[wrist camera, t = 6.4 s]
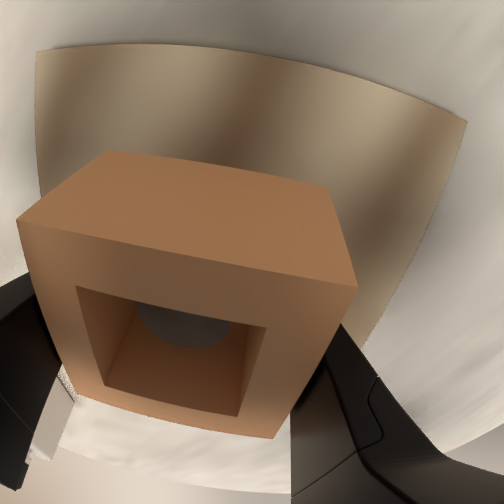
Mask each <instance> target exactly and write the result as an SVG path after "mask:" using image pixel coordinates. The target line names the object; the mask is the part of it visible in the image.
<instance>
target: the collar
mask: <svg viewBox="0 0 504 504" xmlns="http://www.w3.org/2000/svg"><path fill="white" fill-rule="evenodd" d="M16 222H17V227H18V231H19V236H20V240H21V244H22V248H23V252H24V256H25V260H26V263H27V267H28V270H29V274H30V277H31V281H32V284H33V287H34V290H35V293H36V296H37V299H38V302H39V305H40V308H41V311H42V314H43V317H44V319H45V322H46V325H47V327H48V330H49V332H50V335H51V337H52V340H53V342H54V345H55V347H56V350H57V352H58V354H59V357H60V359H61V361H62V363H63V366H64V368H65V370H66V372H67V374H68V376H69V378H70V381H71V383H72V385H73V387H74V389H75V391H76V393H77V394H80V395H82V396H85V397H88V398H91V399H94V400H96V401H99V402H102V403H105V404H108V405H112V406H115V407H118V408H121V409H125V410H128V411H131V412H135V413H138V414H142V415H146V416H149V417H153V418H157V419H161V420H165V421H169V422H174V423H178V424H182V425H187V426H192V427H197V428H202V429H207V430H212V431H218V432H224V433H230V434H237V435H244V436H251V437H259V438H268V439H273V438H274V436H275V435H276V433H277V432H278V430H279V429H280V427H281V425H282V424H283V422H284V421H285V419H286V418H287V416H288V414H289V413H290V411H291V410H292V408H293V406H294V405H295V403H296V402H297V400H298V398H299V397H300V395H301V393H302V392H303V390H304V388H305V387H306V385H307V383H308V381H309V380H310V378H311V376H312V375H313V373H314V371H315V369H316V368H317V366H318V364H319V362H320V360H321V359H322V357H323V355H324V353H325V351H326V350H327V348H328V346H329V344H330V342H331V340H332V338H333V337H334V335H335V333H336V331H337V329H338V327H339V325H340V323H341V321H342V319H343V317H344V315H345V313H346V311H347V309H348V307H349V305H350V303H351V301H352V299H353V297H354V295H355V293H356V291H357V289H358V284H357V280H356V277H355V273H354V270H353V266H352V263H351V259H350V256H349V253H348V249H347V246H346V243H345V240H344V236H343V233H342V230H341V227H340V224H339V221H338V217H337V214H336V211H335V208H334V205H333V202H332V199H331V196H330V194H329V191H328V188H327V187H324V186H320V185H315V184H311V183H306V182H302V181H297V180H293V179H288V178H283V177H279V176H274V175H269V174H264V173H259V172H254V171H248V170H243V169H238V168H232V167H226V166H221V165H215V164H209V163H203V162H196V161H190V160H183V159H177V158H170V157H163V156H155V155H148V154H140V153H131V152H123V151H114V150H108V151H106V152H105V153H103V154H102V155H100V156H99V157H97V158H96V159H94V160H93V161H91V162H90V163H88V164H87V165H86V166H84V167H83V168H81V169H80V170H79V171H77V172H76V173H74V174H73V175H72V176H70V177H69V178H67V179H66V180H65V181H63V182H62V183H61V184H59V185H58V186H57V187H55V188H54V189H53V190H52V191H50V192H49V193H48V194H46V195H45V196H44V197H43V198H41V199H40V200H39V201H38V202H36V203H35V204H34V205H33V206H32V207H30V208H29V209H28V210H27V211H26V212H24V213H23V214H22V215H21V216H20V217H19V218H17V219H16ZM136 301H138V302H142V303H147V304H151V305H155V306H160V307H164V308H169V309H173V310H178V311H182V312H187V313H192V314H197V315H202V316H207V317H212V318H217V319H222V320H227V321H231V326H230V330H229V332H228V334H227V335H226V336H225V337H224V338H223V339H222V340H221V341H219V342H218V343H216V344H214V345H211V346H207V347H201V348H190V347H183V346H178V345H175V344H172V343H169V342H167V341H165V340H163V339H161V338H159V337H158V336H156V335H155V334H154V333H152V332H151V331H150V330H149V329H148V328H147V327H146V326H145V325H144V324H143V322H142V321H141V319H140V317H139V315H138V312H137V309H136Z"/></svg>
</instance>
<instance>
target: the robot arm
mask: <svg viewBox="0 0 504 504" xmlns="http://www.w3.org/2000/svg"><path fill="white" fill-rule="evenodd" d="M61 365H62V361H61V359H60V357H59V354H58V352H57V350H56V347H55V345H54V342H53V340H52V337H51V335H50V332H49V330H48V327H47V325H46V322H45V319H44V317H43V314H42V311H41V308H40V305H39V302H38V299H37V296H36V293H35V290H34V287H33V284H32V281H31V277H30V274H29V272H28V273H26V274H24V275H22V276H20V277H18V278H16V279H14V280H12V281H10V282H9V283H7V284H5V285H3V286H1V287H0V483H2V484H4V485H5V486H7V487H9V488H11V489H13V490H14V491H16V490H17V487H18V484H19V480H20V477H21V473H22V470H23V467H24V464H25V460H26V457H27V454H28V451H29V448H30V445H31V442H32V439H33V436H34V433H35V430H36V427H37V425H38V422H39V419H40V416H41V414H42V411H43V409H44V406H45V404H46V401H47V398H48V396H49V394H50V391H51V389H52V386H53V384H54V382H55V379H56V377H57V374H58V372H59V370H60V368H61ZM377 376H378V374H377V373H376V371H375V370H374V369H373V367H372V366H371V364H370V363H369V362H368V360H367V359H366V357H365V356H364V354H363V353H362V352H361V350H360V349H359V347H358V346H357V345H356V343H355V342H354V340H353V339H352V338H351V336H350V335H349V334H348V332H347V331H346V329H345V328H344V327H343V325H342V324H341V323H340V325H339V327H338V329H337V331H336V333H335V335H334V337H333V338H332V340H331V342H330V344H329V346H328V348H327V350H326V351H325V353H324V355H323V357H322V359H321V360H320V362H319V364H318V366H317V368H316V369H315V371H314V373H313V375H312V376H311V378H310V380H309V381H308V383H307V385H306V387H305V388H304V390H303V392H302V393H301V395H300V397H299V398H298V400H297V402H296V403H295V405H294V406H293V408H292V410H291V411H290V432H291V497H292V498H291V504H504V475H500V474H497V473H493V472H490V471H486V470H483V469H480V468H477V467H474V466H471V465H468V464H465V463H462V462H459V461H456V460H453V459H451V458H449V457H447V456H446V455H444V454H443V453H442V452H440V451H439V450H438V449H437V448H436V447H435V446H434V445H433V444H432V442H431V441H430V440H429V439H428V438H427V436H426V435H425V434H424V433H423V432H422V431H421V429H420V428H419V427H418V426H417V425H416V424H415V422H414V421H413V420H412V419H411V418H410V416H409V415H408V414H407V413H406V412H405V410H404V409H403V408H402V407H401V405H400V404H399V403H398V402H397V401H396V399H395V398H394V396H393V395H392V394H391V392H390V391H389V390H388V388H387V387H386V386H385V384H384V383H383V381H382V380H381V378H380V377H377Z"/></svg>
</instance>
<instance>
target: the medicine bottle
mask: <svg viewBox="0 0 504 504" xmlns="http://www.w3.org/2000/svg"><path fill="white" fill-rule="evenodd" d="M73 406H74V402H73V400H72V399H71V397H70V396H69V394H68V393H67V391H66V390H65V388H64V387H63V385H62V384H61V382H60V381H59V379H58V377H56V379H55V382H54V384H53V386H52V389H51V391H50V394H49V396H48V398H47V401H46V404H45V406H44V409H43V411H42V414H41V416H40V419H39V422H38V425H37V427H36V430H35V433H34V436H33V439H32V442H31V445H30V448H29V451H28V454H27V457H26V460H25V464H24V467H23V470H22V473H21V477H20V480H19V484H18V487H17V489H20V488H21V486H22V484H23V481H24V478H25V475H26V472H27V470H28V467H29V464H30V462H31V458H30V457H29V454H30V452H31V453H33V454H35V455H37V456H39V457H41V458H44V459H46V460H49V461H50V460H52V459H53V456H54V454H55V451H56V448H57V446H58V443H59V441H60V438H61V435H62V433H63V430H64V428H65V425H66V423H67V420H68V418H69V416H70V413H71V411H72V408H73ZM0 484H2V483H0ZM2 485H4V484H2ZM4 486H5V485H4ZM6 487H7V486H6ZM8 488H9V487H8Z"/></svg>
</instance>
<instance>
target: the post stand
mask: <svg viewBox="0 0 504 504" xmlns="http://www.w3.org/2000/svg"><path fill="white" fill-rule="evenodd" d="M466 125H467V121H466V120H464V119H462V118H460V117H458V116H455V115H453V114H451V113H449V112H447V111H445V110H443V109H440V108H438V107H436V106H434V105H431V104H429V103H427V102H424V101H422V100H419V99H417V98H414V97H412V96H409V95H407V94H404V93H402V92H399V91H396V90H394V89H391V88H388V87H385V86H382V85H379V84H376V83H374V82H371V81H367V80H364V79H361V78H358V77H355V76H351V75H348V74H345V73H341V72H338V71H334V70H330V69H326V68H323V67H319V66H315V65H310V64H306V63H302V62H297V61H293V60H288V59H283V58H278V57H273V56H267V55H262V54H256V53H249V52H243V51H236V50H228V49H219V48H210V47H199V46H186V45H168V44H108V45H90V46H78V47H68V48H59V49H51V50H44V51H37V55H36V71H35V137H36V153H37V165H38V176H39V184H40V193H41V198H43V197H44V196H45V195H46V194H48V193H49V192H50V191H52V190H53V189H54V188H55V187H57V186H58V185H59V184H61V183H62V182H63V181H65V180H66V179H67V178H69V177H70V176H72V175H73V174H74V173H76V172H77V171H79V170H80V169H81V168H83V167H84V166H86V165H87V164H88V163H90V162H91V161H93V160H94V159H96V158H97V157H99V156H100V155H102V154H103V153H105V152H106V151H108V150H114V151H123V152H131V153H140V154H148V155H155V156H163V157H170V158H177V159H183V160H190V161H196V162H203V163H209V164H215V165H221V166H226V167H232V168H238V169H243V170H248V171H254V172H259V173H264V174H269V175H274V176H279V177H283V178H288V179H293V180H297V181H302V182H306V183H311V184H315V185H320V186H324V187H327V188H328V191H329V194H330V196H331V199H332V202H333V205H334V208H335V211H336V214H337V217H338V221H339V224H340V227H341V230H342V233H343V236H344V240H345V243H346V246H347V249H348V253H349V256H350V259H351V263H352V266H353V270H354V273H355V277H356V280H357V284H358V289H357V291H356V293H355V295H354V297H353V299H352V301H351V303H350V305H349V307H348V309H347V311H346V313H345V315H344V317H343V319H342V321H341V324H342V325H343V327H344V328H345V329H346V331H347V332H348V334H349V335H350V336H351V338H352V339H353V340H354V342H355V343H356V345H357V346H358V347H359V349H361V348H362V346H363V345H364V343H365V341H366V340H367V338H368V337H369V335H370V333H371V332H372V330H373V328H374V327H375V325H376V323H377V322H378V320H379V318H380V317H381V315H382V313H383V312H384V310H385V308H386V306H387V305H388V303H389V301H390V299H391V297H392V296H393V294H394V292H395V290H396V288H397V287H398V285H399V283H400V281H401V279H402V277H403V275H404V273H405V271H406V269H407V268H408V266H409V264H410V262H411V260H412V258H413V256H414V254H415V252H416V250H417V248H418V245H419V243H420V241H421V239H422V237H423V235H424V233H425V231H426V228H427V226H428V224H429V222H430V220H431V217H432V215H433V213H434V210H435V208H436V206H437V203H438V201H439V199H440V196H441V194H442V191H443V189H444V186H445V184H446V181H447V179H448V176H449V174H450V171H451V168H452V166H453V163H454V160H455V157H456V155H457V152H458V149H459V146H460V143H461V140H462V137H463V134H464V131H465V128H466ZM136 309H137V312H138V315H139V317H140V319H141V321H142V322H143V324H144V325H145V326H146V327H147V328H148V329H149V330H150V331H151V332H152V333H154V334H155V335H156V336H158V337H159V338H161V339H163V340H165V341H167V342H169V343H172V344H175V345H178V346H183V347H190V348H201V347H207V346H211V345H214V344H216V343H218V342H219V341H221V340H222V339H223V338H224V337H225V336H226V335H227V334H228V332H229V330H230V326H231V321H227V320H222V319H217V318H212V317H207V316H202V315H197V314H192V313H187V312H182V311H178V310H173V309H169V308H164V307H160V306H155V305H151V304H147V303H142V302H138V301H136Z"/></svg>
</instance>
